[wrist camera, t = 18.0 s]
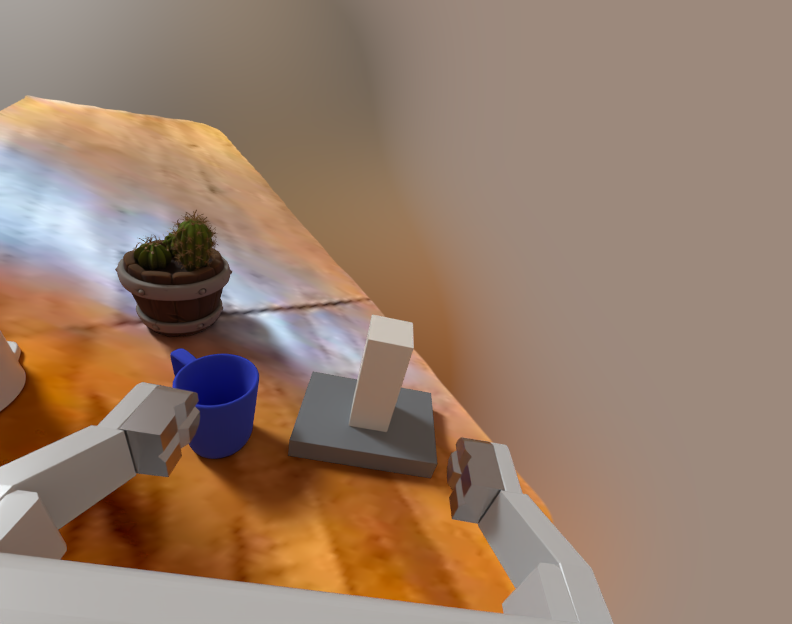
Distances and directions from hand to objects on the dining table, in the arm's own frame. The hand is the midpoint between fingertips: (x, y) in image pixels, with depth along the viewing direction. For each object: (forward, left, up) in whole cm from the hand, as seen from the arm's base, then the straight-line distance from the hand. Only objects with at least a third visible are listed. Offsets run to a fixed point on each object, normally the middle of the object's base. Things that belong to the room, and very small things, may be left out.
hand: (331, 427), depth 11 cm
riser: (+4, +25, -30) cm, 39 cm away
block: (+4, +25, -27) cm, 37 cm away
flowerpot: (-29, +41, -30) cm, 59 cm away
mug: (-15, +21, -30) cm, 40 cm away
